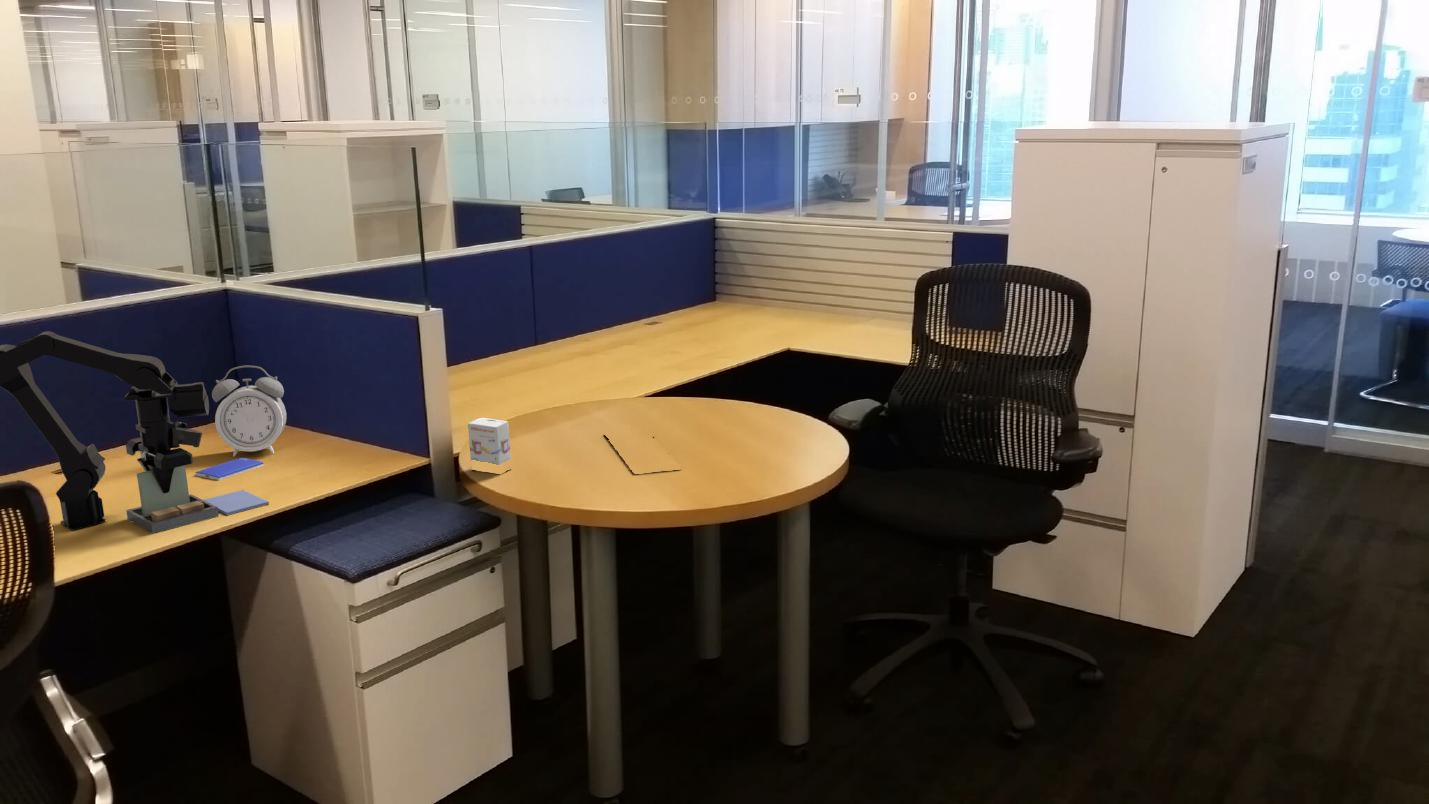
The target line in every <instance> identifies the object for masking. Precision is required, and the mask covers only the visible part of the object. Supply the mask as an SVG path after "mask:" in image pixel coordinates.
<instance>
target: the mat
mask: <svg viewBox="0 0 1429 804" xmlns="http://www.w3.org/2000/svg"><path fill="white" fill-rule="evenodd" d="M203 500H204V501H206V502H208V503H210V504H212V505H214V506H216V507H218V512H220V513H222V514H223V515H225V516H230V515H234V514H237V513H242V512H245V511H249V510H253V509H256V508H260V507H265V506H268V505H269V503H270V502H269V501H268V500H266V499H264V498H262V497H259V496H257V495H255V494H254V493H250V492H248V491H246V490H243V489H241V490H236V491H234V492H229V493H228V492H227V493H225V494H221V495H217V496H214V497H213V496H212V497H210V498H205V499H203Z"/></svg>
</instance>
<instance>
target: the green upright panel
mask: <svg viewBox="0 0 1429 804" xmlns="http://www.w3.org/2000/svg"><path fill="white" fill-rule="evenodd" d="M186 470H187V469H186V465H184V466H180V467H176V468H174V471H173V475H172V480H171V485H170V490H169V492H168V493H163V492H162V490H161V488H160V487H159V485H158V483H157V481H156V479H155V478H154V476H153V474H152V472H151V470H150V471H145V470H144V471H141V472H137V473H136V479H137V485H138V486H137V487H138V491H139V497H140V505H141V506H142V513H143V515H147V514H151V512H155V511H159V510H162V509H166V508H170V507H174V508H175V507H176V506H178V505H182V504H186V503H190V499H189V495H190V494H189V486H188V485H189V484H188V477H187V471H186ZM141 506H140V507H141Z"/></svg>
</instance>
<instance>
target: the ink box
mask: <svg viewBox="0 0 1429 804" xmlns="http://www.w3.org/2000/svg"><path fill="white" fill-rule="evenodd" d="M509 426H510V425H509V421H507V420H502V419H501V420H500V419H496V418H495V419H494V418H489V417H488V418H487V417H479V418H477V419H474V420H471V421H469V422H468V423H467V429H468V442H469V456H470V461H471V460H476V461H480V462H488V463H492V464H496V465H500V464H502V463H503V462H506V461H507V460H510V459H511V460H512V457H511V456H512V455H511V440H510V429H509V428H510V427H509Z"/></svg>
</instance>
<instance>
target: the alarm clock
mask: <svg viewBox="0 0 1429 804" xmlns="http://www.w3.org/2000/svg"><path fill="white" fill-rule="evenodd" d="M242 368H243V369H244V368H253V369H259V370H261V371H262V372H264V374H265V375H266V376H262V377H259V378H258V379H256V381H255V382H254V385H249V382H252V378H242V382H245V385H246V386H242V387H240V388H238V387H239V386H240V383H239V381H237V380H235V379H231V378H228V379H226V378H227V377H228V375H229V373H231V372H232V371H233V370H238V369H242ZM215 383H216V385H215V386H214V388H213V389H212V391H211V397H212V399H213V401H214V402H215V403H217V402H219V401H220V400H222V401H221V402H220V403H219V405H218V407H217V409H216V412H215V417H214V420H215V422H214V423H215V428H216V432H217V434H218V435H219V437H220V439H221V440H222V441H223V442H224V443H226V444H227V445H228V446H230V447H231V448H233V454H232V457H236V455H237V453H239V451H240V452H241V451H242V452H250V453H251V452H258V451H262V450H264V449H266V448H267V449H268V450H269V451H270V453H272V454H273V455H274V454H275V451H274V448H273V446H272V444H273V443H275V442H276V441H277V440H278V438H279V437H280V435H281V433H282V432H283V431H284V429H285V426H286V423H287V410H286V407H285V404H284V403H283V400H282V398H283V396H284V393H285V390H284V387H283V384H282V383H281V382H280V381H278V376H274V377H273V376H272V375H270V374H269V373H268V372H267V371H266V370H265V369H264V368H262V366H256V365H240V366H236V367H233V368H230V369H229V370H228V371H227V372H226V373H225V376H224V377H223V378H222V379H220V380H218V379H216V380H215ZM225 396H226V397H225ZM224 397H225V398H224ZM222 398H224V399H222Z"/></svg>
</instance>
